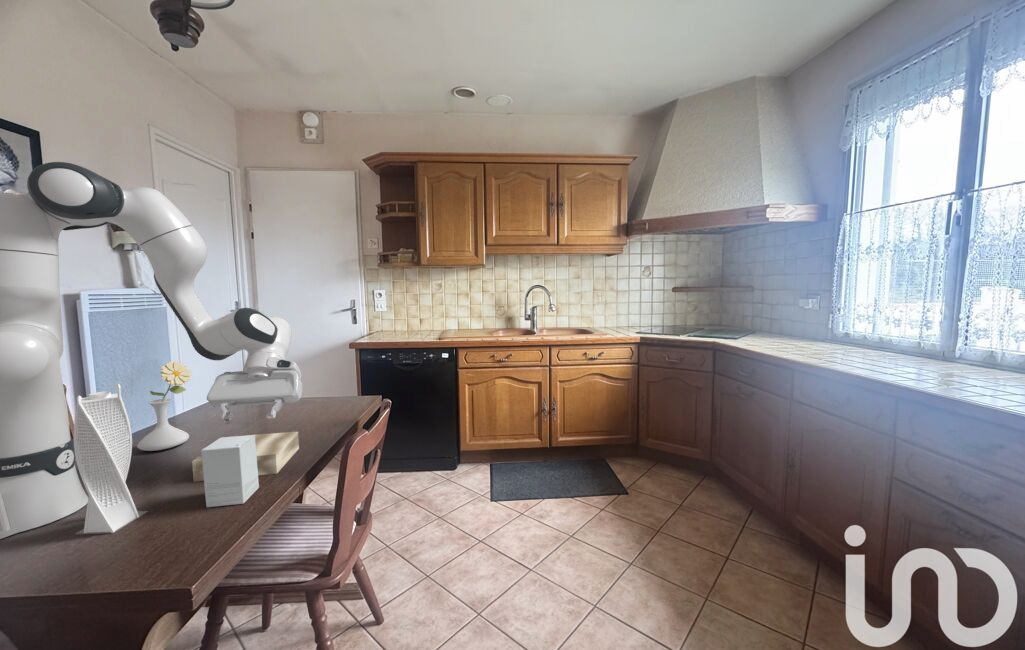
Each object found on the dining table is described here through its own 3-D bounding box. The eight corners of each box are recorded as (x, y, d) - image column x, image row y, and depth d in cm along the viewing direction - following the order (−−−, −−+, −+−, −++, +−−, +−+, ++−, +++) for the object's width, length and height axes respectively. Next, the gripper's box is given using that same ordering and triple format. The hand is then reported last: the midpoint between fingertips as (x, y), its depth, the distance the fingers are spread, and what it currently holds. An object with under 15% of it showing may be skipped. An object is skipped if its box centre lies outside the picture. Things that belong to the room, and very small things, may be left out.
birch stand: (193, 481, 91) (192, 461, 90) (228, 454, 106) (227, 436, 106) (276, 473, 94) (275, 454, 94) (299, 448, 110) (298, 431, 110)
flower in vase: (145, 458, 104) (137, 368, 102) (131, 449, 110) (123, 364, 108) (203, 442, 115) (196, 360, 113) (187, 435, 121) (181, 357, 119)
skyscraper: (155, 512, 78) (143, 379, 76) (115, 538, 70) (101, 389, 68) (112, 514, 78) (99, 380, 76) (68, 539, 70) (51, 390, 68)
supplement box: (260, 487, 88) (256, 434, 87) (243, 504, 81) (239, 446, 80) (224, 490, 87) (220, 436, 86) (204, 508, 79) (199, 449, 78)
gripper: (213, 365, 95) (192, 415, 87) (301, 361, 100) (290, 409, 91) (223, 379, 100) (205, 428, 91) (308, 375, 104) (298, 421, 96)
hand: (248, 418), depth 91 cm, fingers open, 8 cm apart
